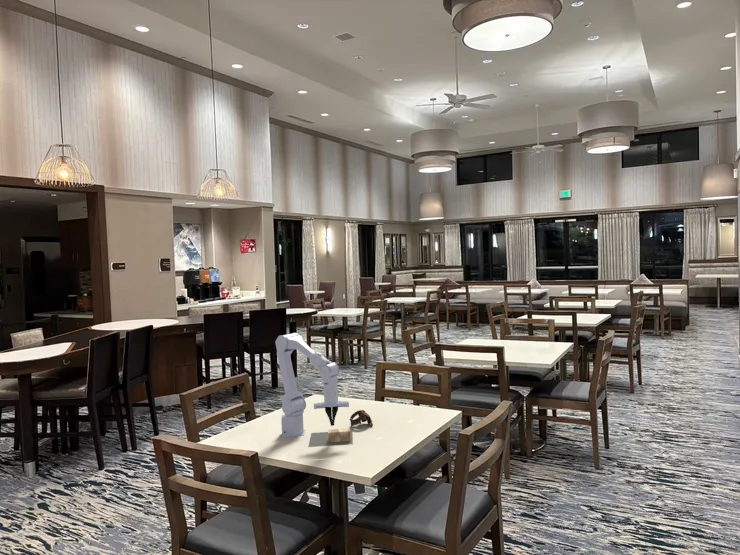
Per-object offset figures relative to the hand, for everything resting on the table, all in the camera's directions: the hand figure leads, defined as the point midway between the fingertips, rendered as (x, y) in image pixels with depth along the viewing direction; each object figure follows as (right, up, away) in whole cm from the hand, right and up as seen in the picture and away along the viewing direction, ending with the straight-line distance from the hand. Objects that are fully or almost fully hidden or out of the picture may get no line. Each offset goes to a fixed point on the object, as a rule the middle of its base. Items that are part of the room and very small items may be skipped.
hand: (332, 424), depth 223 cm
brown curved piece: (+12, -6, +20) cm, 24 cm away
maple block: (-2, -5, 0) cm, 5 cm away
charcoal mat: (-1, -7, +3) cm, 8 cm away
